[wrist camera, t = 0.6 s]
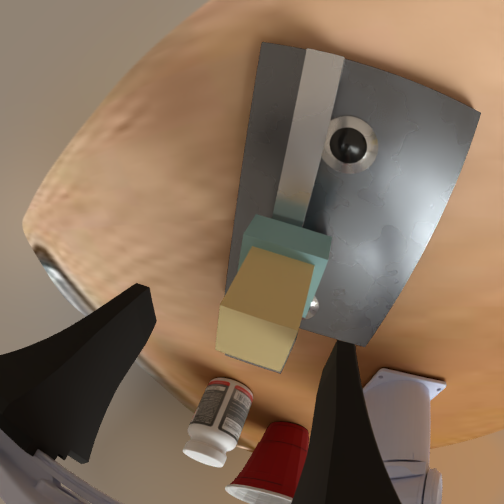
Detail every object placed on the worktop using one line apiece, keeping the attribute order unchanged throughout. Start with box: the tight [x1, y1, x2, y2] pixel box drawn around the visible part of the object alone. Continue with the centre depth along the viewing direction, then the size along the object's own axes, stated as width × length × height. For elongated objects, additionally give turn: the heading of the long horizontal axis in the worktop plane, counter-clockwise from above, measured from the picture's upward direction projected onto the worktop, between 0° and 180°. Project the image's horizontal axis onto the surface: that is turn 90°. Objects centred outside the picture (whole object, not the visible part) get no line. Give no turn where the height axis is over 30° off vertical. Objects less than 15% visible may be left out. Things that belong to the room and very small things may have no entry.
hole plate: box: [224, 42, 481, 347], centre depth 18 cm, size 19×12×1 cm, turn 171°
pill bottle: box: [183, 378, 253, 467], centre depth 31 cm, size 6×6×10 cm
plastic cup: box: [225, 422, 309, 504], centre depth 33 cm, size 11×11×12 cm
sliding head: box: [215, 214, 332, 372], centre depth 15 cm, size 4×4×9 cm
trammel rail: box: [225, 48, 345, 374], centre depth 16 cm, size 19×4×5 cm, turn 171°
